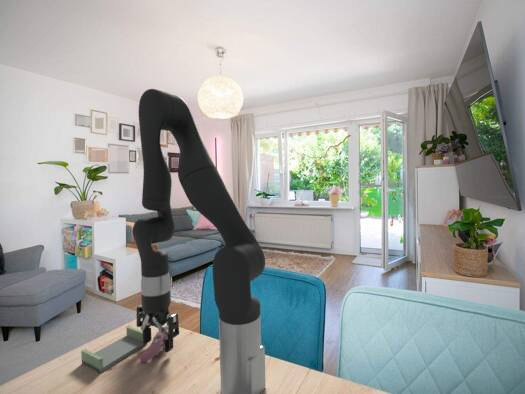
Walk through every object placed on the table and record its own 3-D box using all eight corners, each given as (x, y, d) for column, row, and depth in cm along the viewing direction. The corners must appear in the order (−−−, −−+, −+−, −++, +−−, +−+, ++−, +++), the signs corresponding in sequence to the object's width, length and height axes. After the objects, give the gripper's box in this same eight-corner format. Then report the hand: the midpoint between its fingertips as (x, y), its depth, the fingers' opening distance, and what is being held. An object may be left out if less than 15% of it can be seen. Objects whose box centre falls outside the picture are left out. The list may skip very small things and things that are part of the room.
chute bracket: (146, 344, 79) (146, 332, 78) (100, 373, 67) (99, 359, 67) (129, 337, 82) (128, 326, 82) (81, 363, 70) (81, 350, 70)
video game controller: (152, 369, 70) (163, 346, 70) (136, 361, 70) (147, 338, 70) (167, 346, 80) (176, 325, 80) (153, 339, 80) (162, 319, 80)
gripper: (185, 289, 74) (186, 346, 75) (149, 280, 81) (151, 333, 82) (163, 299, 68) (165, 362, 68) (126, 289, 74) (129, 346, 75)
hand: (157, 346), depth 75 cm, fingers open, 8 cm apart
